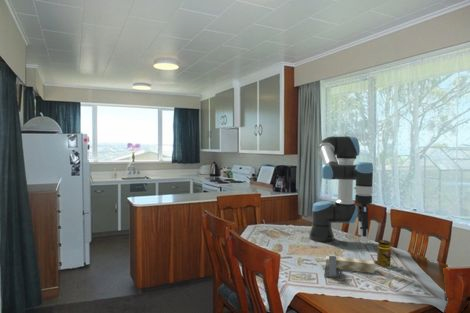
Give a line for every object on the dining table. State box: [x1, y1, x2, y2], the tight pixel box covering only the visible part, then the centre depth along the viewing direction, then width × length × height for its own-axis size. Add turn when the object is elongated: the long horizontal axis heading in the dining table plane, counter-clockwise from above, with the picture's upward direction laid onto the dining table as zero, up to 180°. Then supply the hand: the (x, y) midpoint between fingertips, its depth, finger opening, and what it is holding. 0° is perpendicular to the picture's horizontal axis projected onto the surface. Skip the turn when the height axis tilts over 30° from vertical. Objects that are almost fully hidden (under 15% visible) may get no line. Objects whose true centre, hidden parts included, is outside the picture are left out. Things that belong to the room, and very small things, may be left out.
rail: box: [324, 255, 342, 279], centre depth 150 cm, size 10×7×6 cm
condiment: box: [372, 239, 393, 269], centre depth 161 cm, size 7×8×12 cm
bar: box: [325, 255, 375, 274], centre depth 156 cm, size 22×4×4 cm, turn 74°
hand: (362, 238), depth 154 cm, fingers open, 13 cm apart
